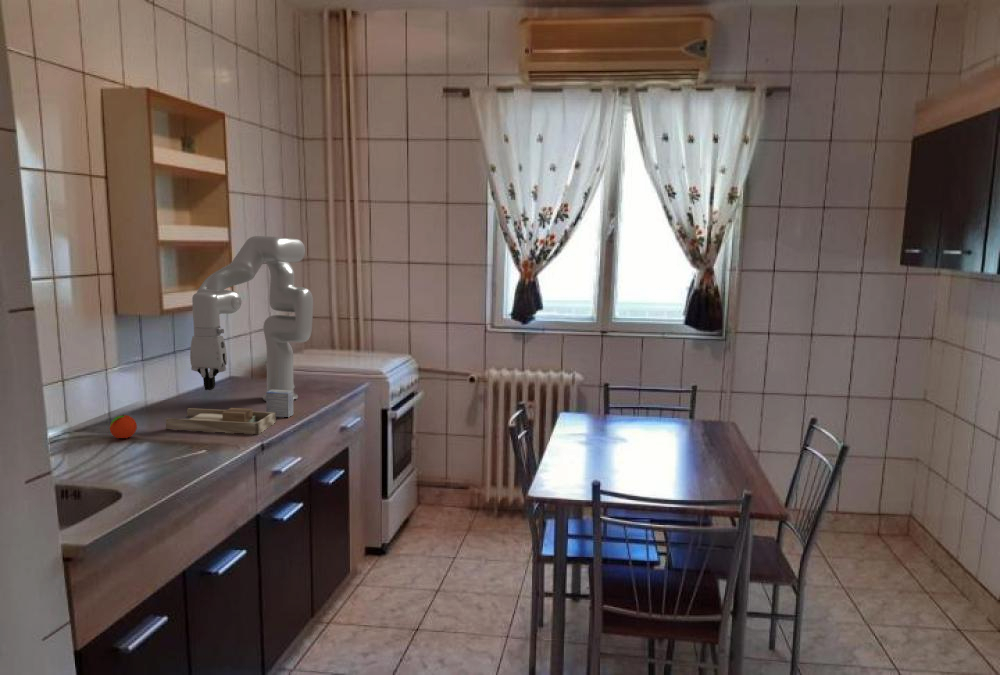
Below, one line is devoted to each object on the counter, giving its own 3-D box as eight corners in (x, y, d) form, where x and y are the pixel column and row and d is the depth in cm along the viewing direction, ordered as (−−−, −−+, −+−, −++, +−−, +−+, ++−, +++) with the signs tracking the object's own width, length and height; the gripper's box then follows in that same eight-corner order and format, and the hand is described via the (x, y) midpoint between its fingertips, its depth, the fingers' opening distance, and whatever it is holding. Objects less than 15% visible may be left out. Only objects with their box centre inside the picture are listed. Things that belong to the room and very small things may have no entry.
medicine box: (293, 415, 231) (293, 390, 229) (288, 418, 226) (288, 393, 225) (271, 413, 231) (271, 389, 230) (265, 416, 227) (265, 391, 226)
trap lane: (189, 418, 221) (188, 408, 220) (275, 422, 220) (275, 412, 219) (166, 429, 207) (165, 418, 207) (258, 434, 206) (258, 423, 205)
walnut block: (231, 416, 216) (231, 407, 215) (252, 418, 215) (252, 408, 215) (222, 421, 210) (222, 412, 209) (244, 422, 209) (244, 413, 209)
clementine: (120, 444, 192) (119, 419, 191) (101, 441, 194) (100, 417, 193) (142, 436, 199) (141, 413, 198) (124, 434, 201) (123, 411, 200)
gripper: (235, 331, 213) (237, 387, 216) (189, 329, 214) (192, 385, 217) (225, 335, 206) (227, 393, 209) (177, 333, 206) (180, 391, 209)
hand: (209, 389), depth 213 cm, fingers closed
